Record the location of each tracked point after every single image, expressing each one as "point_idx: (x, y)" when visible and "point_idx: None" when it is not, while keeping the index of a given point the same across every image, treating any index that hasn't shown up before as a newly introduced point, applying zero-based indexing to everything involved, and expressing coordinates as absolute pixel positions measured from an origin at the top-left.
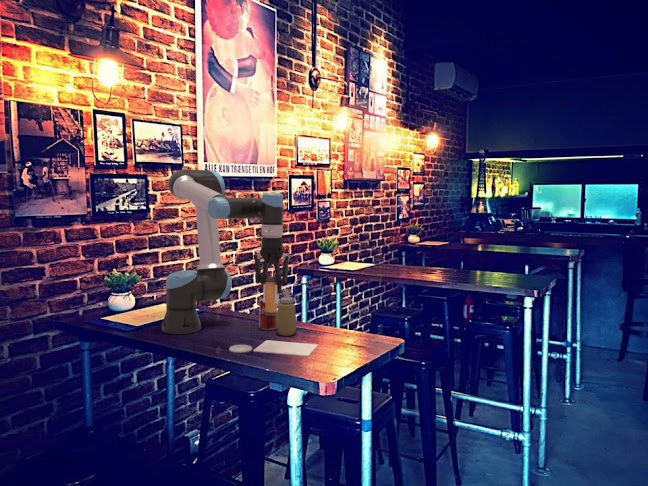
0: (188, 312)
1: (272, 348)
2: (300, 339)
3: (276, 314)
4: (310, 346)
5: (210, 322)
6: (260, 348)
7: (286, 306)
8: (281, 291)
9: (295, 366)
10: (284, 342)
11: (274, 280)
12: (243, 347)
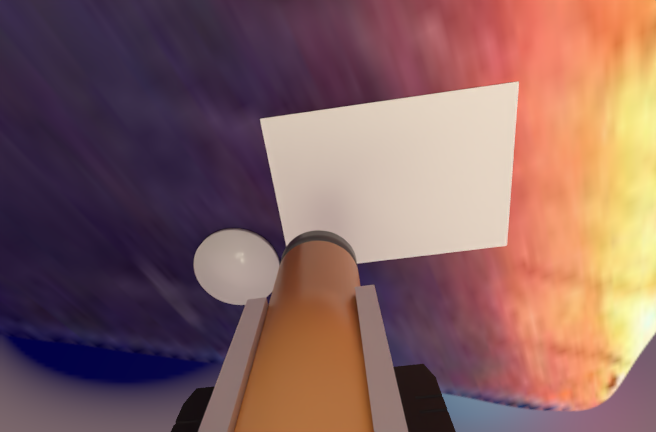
0: None
1: (345, 224)
2: (399, 2)
3: (355, 256)
4: (488, 130)
5: None
6: None
7: None
8: (436, 385)
9: (485, 342)
10: (353, 119)
11: None
12: (242, 262)
